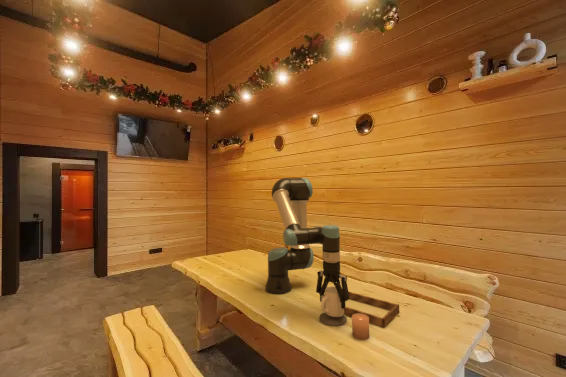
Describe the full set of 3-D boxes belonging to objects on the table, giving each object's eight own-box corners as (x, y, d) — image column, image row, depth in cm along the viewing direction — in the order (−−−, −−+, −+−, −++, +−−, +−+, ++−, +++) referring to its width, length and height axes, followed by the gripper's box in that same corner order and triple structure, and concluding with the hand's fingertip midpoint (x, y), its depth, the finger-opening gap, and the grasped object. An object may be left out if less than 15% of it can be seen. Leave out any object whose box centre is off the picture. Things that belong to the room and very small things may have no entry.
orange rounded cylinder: (349, 335, 102) (348, 317, 102) (356, 329, 106) (356, 311, 107) (365, 341, 97) (364, 322, 98) (372, 334, 102) (371, 316, 102)
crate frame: (329, 309, 124) (329, 302, 124) (347, 297, 138) (347, 291, 138) (384, 328, 107) (384, 319, 107) (399, 312, 120) (399, 304, 120)
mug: (328, 322, 109) (328, 297, 109) (315, 314, 115) (314, 291, 115) (348, 313, 115) (347, 290, 115) (334, 307, 122) (334, 285, 122)
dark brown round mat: (313, 320, 114) (313, 318, 115) (328, 310, 123) (328, 309, 123) (337, 329, 106) (337, 327, 106) (351, 318, 115) (351, 317, 115)
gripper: (307, 258, 120) (308, 308, 119) (348, 266, 106) (350, 323, 105) (316, 255, 125) (317, 303, 125) (357, 262, 111) (358, 316, 111)
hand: (332, 312), depth 115 cm, fingers closed on mug, 8 cm apart
